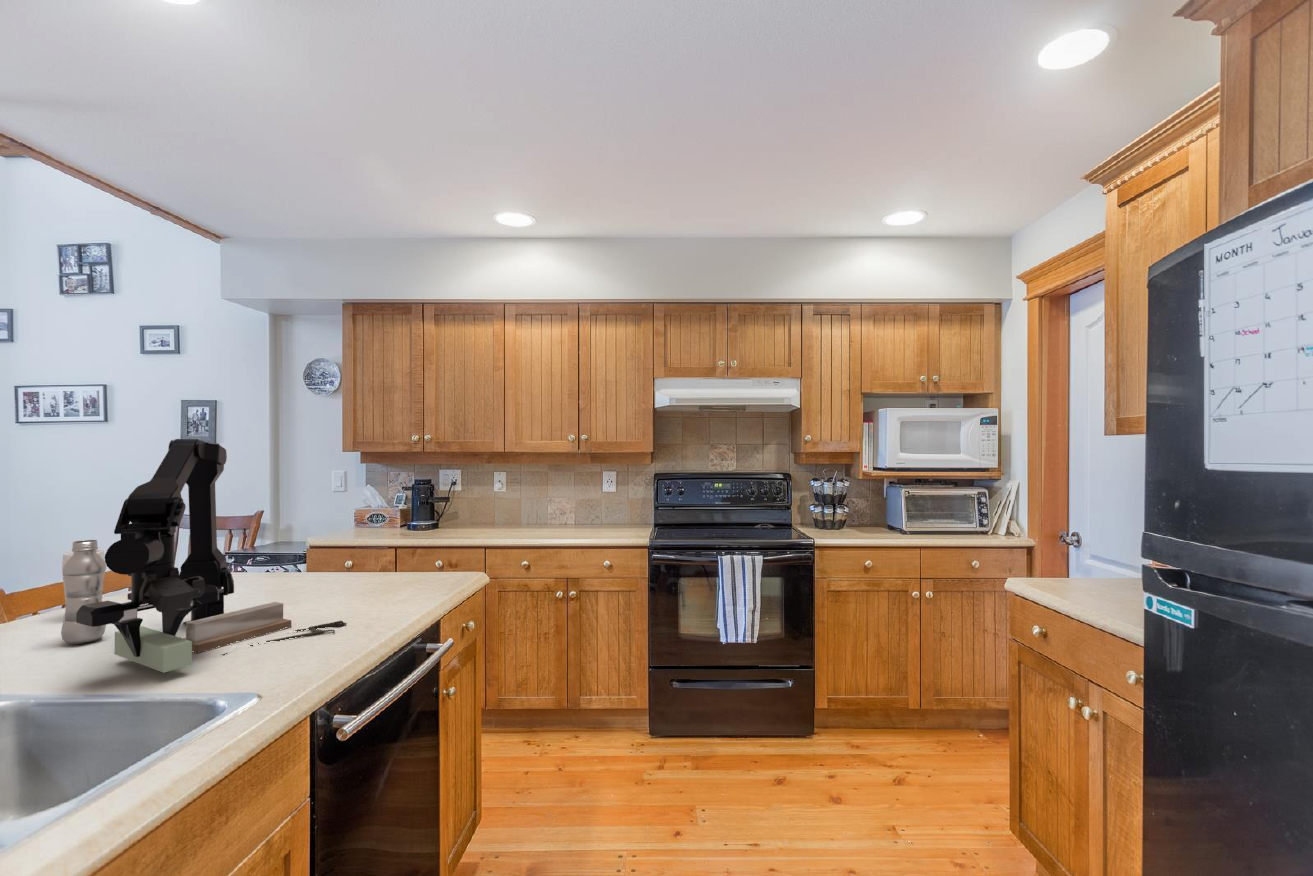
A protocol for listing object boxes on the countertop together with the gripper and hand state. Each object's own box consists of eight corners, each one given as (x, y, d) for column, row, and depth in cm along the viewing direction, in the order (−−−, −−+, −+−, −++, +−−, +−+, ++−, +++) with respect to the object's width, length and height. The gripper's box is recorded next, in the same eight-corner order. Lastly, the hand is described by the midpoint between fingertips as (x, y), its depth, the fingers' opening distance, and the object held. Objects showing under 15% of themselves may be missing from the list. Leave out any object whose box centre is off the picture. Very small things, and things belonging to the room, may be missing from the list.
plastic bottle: (67, 650, 115) (68, 545, 115) (55, 643, 118) (57, 541, 118) (111, 640, 120) (112, 540, 120) (99, 635, 124) (100, 537, 124)
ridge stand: (176, 647, 116) (177, 621, 116) (270, 623, 132) (270, 600, 132) (198, 653, 113) (198, 626, 113) (291, 627, 129) (291, 603, 129)
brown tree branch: (345, 625, 132) (346, 619, 132) (351, 638, 123) (351, 631, 123) (209, 645, 119) (209, 637, 119) (205, 660, 110) (205, 652, 110)
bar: (114, 654, 108) (114, 631, 108) (141, 647, 111) (142, 626, 111) (163, 672, 99) (163, 648, 99) (191, 664, 102) (191, 641, 103)
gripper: (110, 578, 93) (109, 679, 93) (237, 557, 110) (236, 643, 110) (75, 571, 98) (74, 667, 98) (202, 553, 115) (201, 635, 115)
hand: (152, 652), depth 105 cm, fingers closed on bar, 4 cm apart
